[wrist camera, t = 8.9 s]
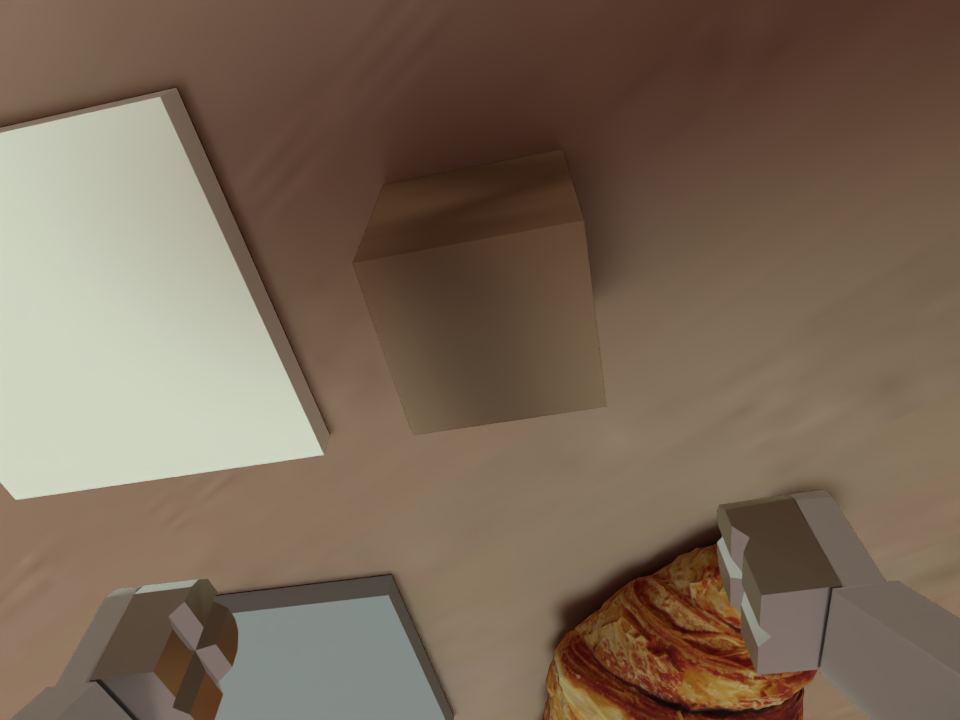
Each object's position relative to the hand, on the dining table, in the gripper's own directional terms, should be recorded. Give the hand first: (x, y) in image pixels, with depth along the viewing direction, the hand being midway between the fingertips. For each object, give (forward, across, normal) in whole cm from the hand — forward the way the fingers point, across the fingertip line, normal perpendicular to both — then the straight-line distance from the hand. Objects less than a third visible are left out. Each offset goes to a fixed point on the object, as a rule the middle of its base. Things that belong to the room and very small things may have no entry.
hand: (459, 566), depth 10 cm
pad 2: (+11, +12, +20) cm, 26 cm away
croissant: (+12, -4, +20) cm, 24 cm away
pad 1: (+11, +12, 0) cm, 17 cm away
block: (+11, -1, 0) cm, 11 cm away
